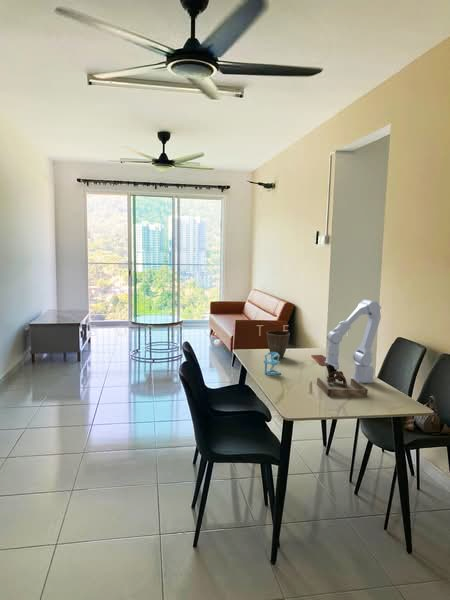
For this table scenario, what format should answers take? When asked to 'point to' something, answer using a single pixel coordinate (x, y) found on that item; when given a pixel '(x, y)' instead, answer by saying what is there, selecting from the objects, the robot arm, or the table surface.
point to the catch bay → (344, 390)
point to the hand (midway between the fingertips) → (331, 378)
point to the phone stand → (272, 362)
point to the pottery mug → (337, 377)
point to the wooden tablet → (320, 359)
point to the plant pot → (278, 342)
